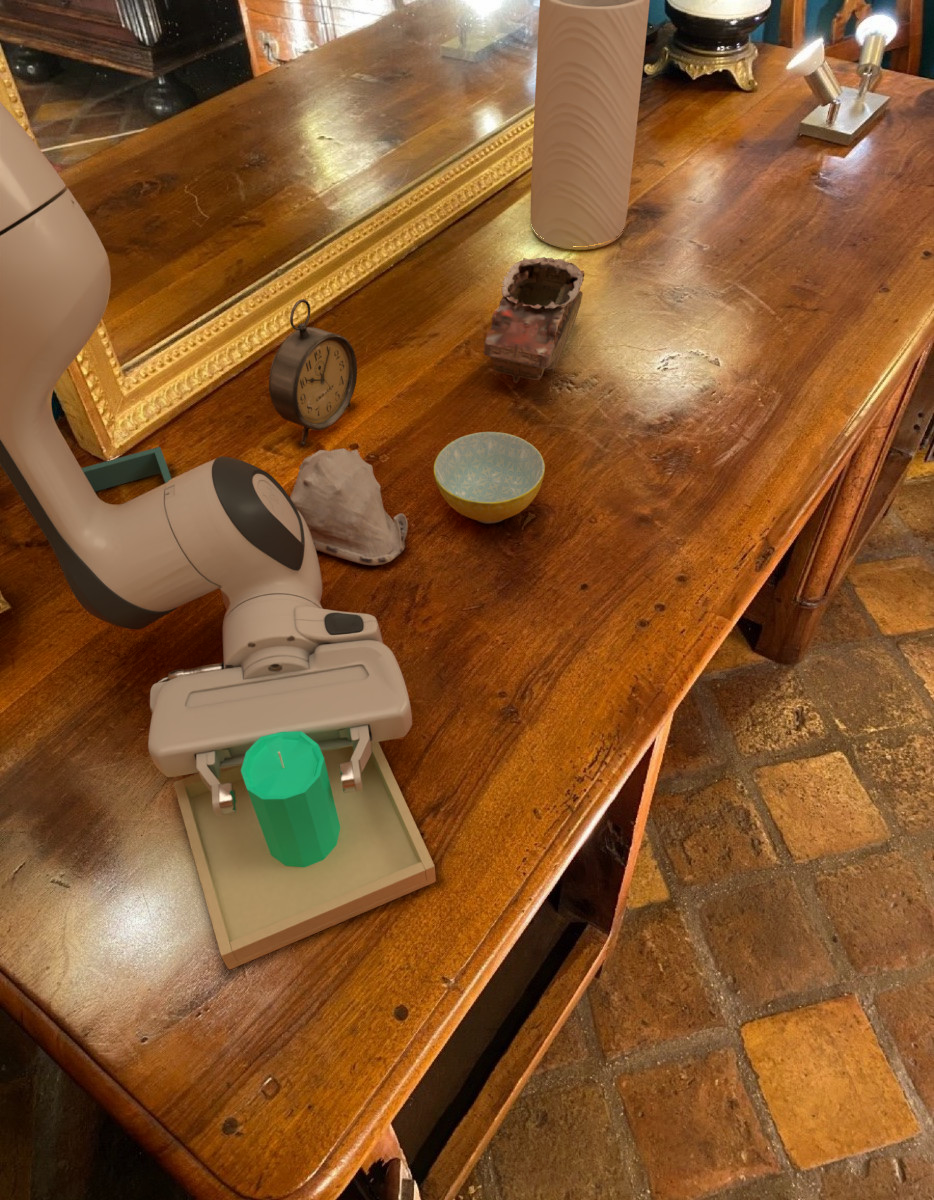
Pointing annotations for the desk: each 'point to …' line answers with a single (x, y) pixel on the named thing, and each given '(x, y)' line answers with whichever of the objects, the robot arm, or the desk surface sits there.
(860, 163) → the desk surface
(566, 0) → the vase
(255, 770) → the candle
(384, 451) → the desk surface
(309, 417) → the alarm clock
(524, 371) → the decorative box
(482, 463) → the bowl
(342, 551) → the seashell
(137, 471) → the frame
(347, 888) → the tray
